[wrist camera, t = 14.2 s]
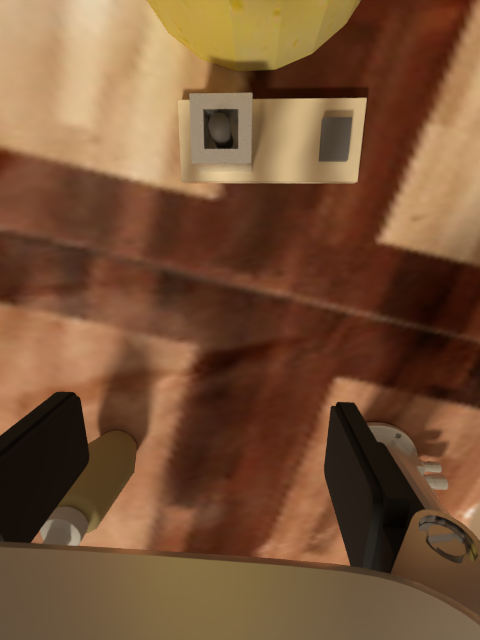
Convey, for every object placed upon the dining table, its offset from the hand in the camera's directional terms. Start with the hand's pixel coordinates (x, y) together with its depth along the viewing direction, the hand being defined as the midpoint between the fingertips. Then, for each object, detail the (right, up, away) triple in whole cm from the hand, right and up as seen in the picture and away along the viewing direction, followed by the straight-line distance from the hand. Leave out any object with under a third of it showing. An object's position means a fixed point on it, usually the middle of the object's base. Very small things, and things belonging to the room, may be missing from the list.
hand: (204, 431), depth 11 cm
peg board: (+5, +24, +22) cm, 33 cm away
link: (0, +24, +21) cm, 32 cm away
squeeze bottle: (-18, -16, +35) cm, 42 cm away
